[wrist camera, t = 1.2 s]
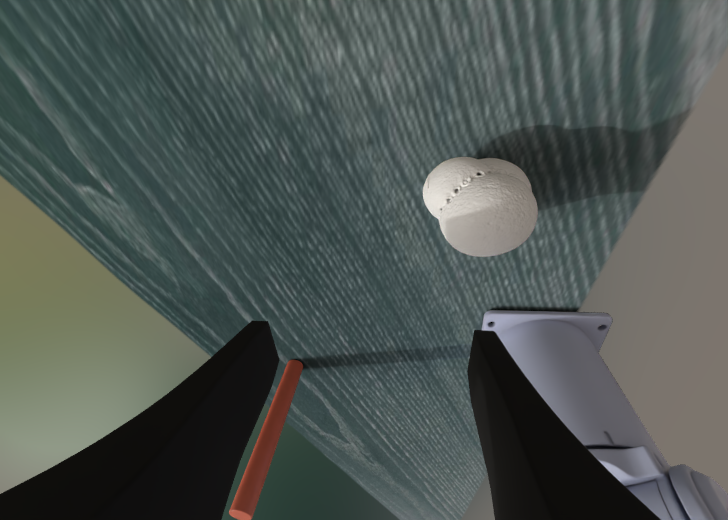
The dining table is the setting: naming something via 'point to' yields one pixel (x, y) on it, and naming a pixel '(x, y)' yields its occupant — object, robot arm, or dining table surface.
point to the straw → (266, 445)
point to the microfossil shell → (481, 204)
